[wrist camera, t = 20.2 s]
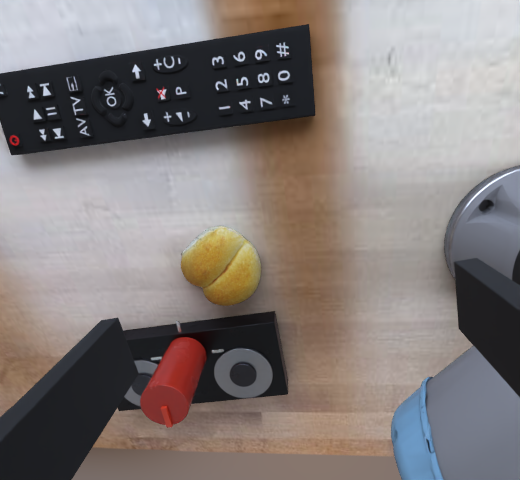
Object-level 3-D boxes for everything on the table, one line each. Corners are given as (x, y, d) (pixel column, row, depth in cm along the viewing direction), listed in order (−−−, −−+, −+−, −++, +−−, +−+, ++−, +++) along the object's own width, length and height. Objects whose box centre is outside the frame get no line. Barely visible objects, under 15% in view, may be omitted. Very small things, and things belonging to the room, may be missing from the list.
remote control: (-5, 78, 35) (-21, 75, 33) (307, 29, 32) (309, 22, 30) (19, 154, 37) (5, 155, 35) (314, 115, 34) (315, 114, 32)
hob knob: (162, 339, 40) (132, 389, 32) (201, 334, 39) (180, 384, 32) (172, 373, 41) (146, 430, 33) (210, 369, 41) (193, 425, 33)
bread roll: (227, 310, 41) (221, 328, 37) (174, 258, 40) (162, 271, 36) (278, 268, 39) (277, 282, 35) (223, 211, 37) (216, 220, 34)
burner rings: (267, 344, 39) (266, 347, 39) (277, 393, 41) (277, 397, 41) (110, 362, 42) (108, 365, 41) (127, 408, 44) (125, 412, 43)
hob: (272, 298, 40) (271, 309, 38) (288, 380, 44) (288, 395, 41) (100, 321, 43) (89, 333, 40) (127, 396, 46) (118, 412, 44)
